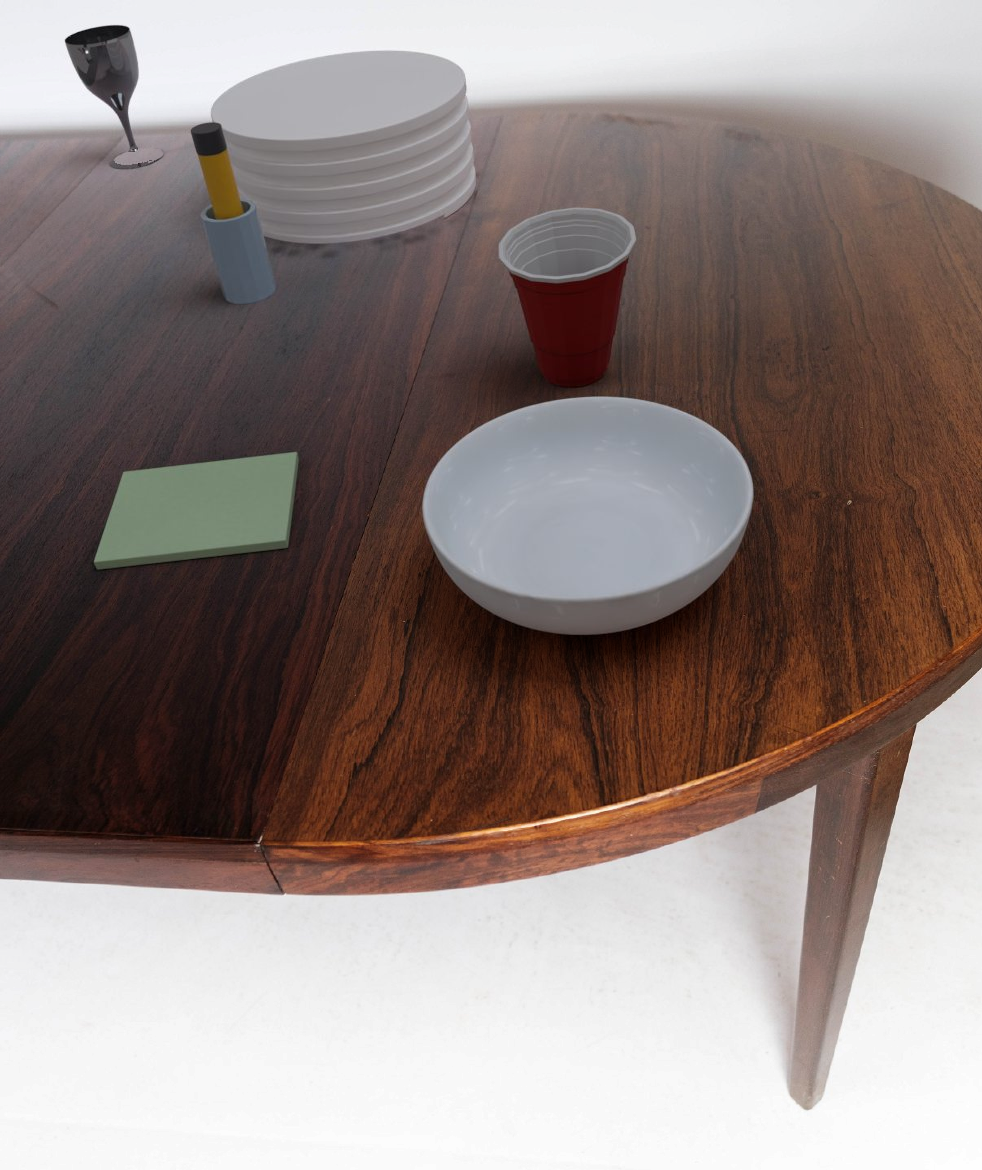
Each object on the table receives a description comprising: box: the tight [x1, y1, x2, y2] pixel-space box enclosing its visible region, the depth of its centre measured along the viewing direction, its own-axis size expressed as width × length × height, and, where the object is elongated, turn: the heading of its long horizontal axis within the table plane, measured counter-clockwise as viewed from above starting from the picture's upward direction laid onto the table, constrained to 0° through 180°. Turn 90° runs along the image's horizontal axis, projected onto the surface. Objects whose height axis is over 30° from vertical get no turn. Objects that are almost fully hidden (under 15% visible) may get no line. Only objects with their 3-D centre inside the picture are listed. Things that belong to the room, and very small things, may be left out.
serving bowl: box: [421, 396, 754, 636], centre depth 69 cm, size 21×21×7 cm
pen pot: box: [199, 199, 277, 305], centre depth 103 cm, size 5×5×9 cm
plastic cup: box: [498, 207, 637, 388], centre depth 86 cm, size 11×11×12 cm
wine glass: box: [64, 24, 157, 170], centre depth 134 cm, size 8×8×15 cm
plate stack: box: [210, 50, 477, 244], centre depth 119 cm, size 28×28×12 cm
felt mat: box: [93, 451, 300, 571], centre depth 80 cm, size 14×11×1 cm
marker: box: [190, 121, 244, 220], centre depth 100 cm, size 3×3×16 cm
